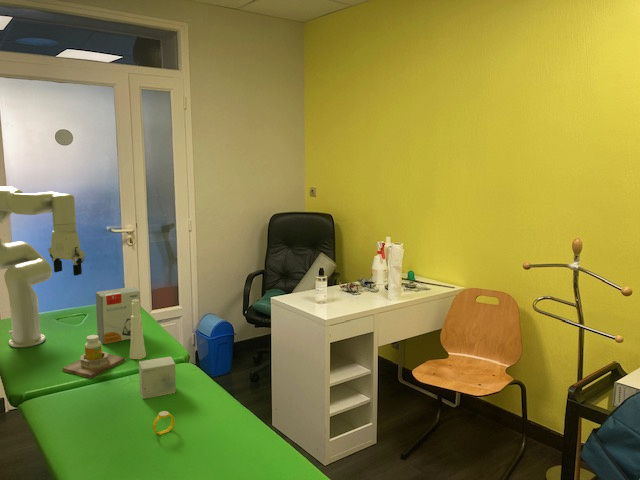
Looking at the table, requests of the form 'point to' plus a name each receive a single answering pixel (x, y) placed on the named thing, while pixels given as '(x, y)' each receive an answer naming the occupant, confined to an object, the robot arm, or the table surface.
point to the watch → (163, 415)
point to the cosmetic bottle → (136, 333)
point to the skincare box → (157, 377)
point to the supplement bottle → (93, 348)
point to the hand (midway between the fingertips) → (67, 273)
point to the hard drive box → (115, 313)
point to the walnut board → (93, 370)
